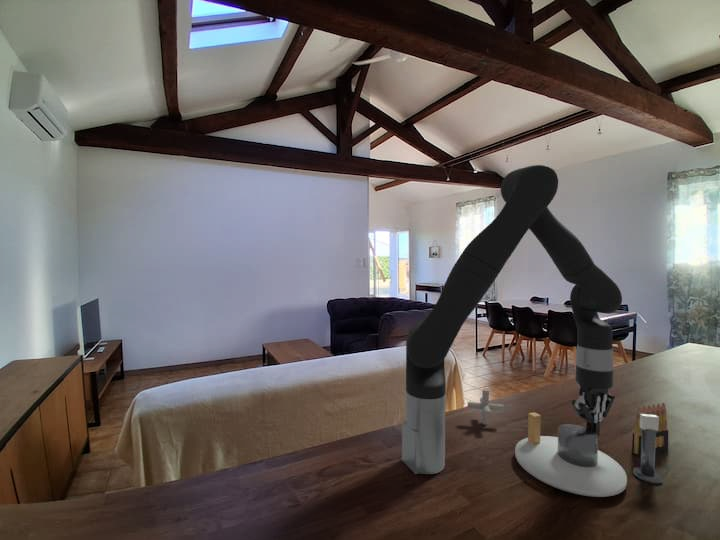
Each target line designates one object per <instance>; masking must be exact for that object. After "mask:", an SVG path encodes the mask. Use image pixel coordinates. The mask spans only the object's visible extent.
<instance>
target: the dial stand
mask: <svg viewBox="0 0 720 540" xmlns="http://www.w3.org/2000/svg"><path fill="white" fill-rule="evenodd" d="M658 425H659V417H657V416H656V415H649V414H640V428H642V441H641V456H640V466H635V467H633V469H632V473H633V476H634V477H635V478H637V479H638V480H640V481H643V482H645V483H648V484H650V485H651V484H652V485H662V483H663V477H662V475H661V474H660V473H659V472H656V471H655V469H656V467H655V466H656V463H655V462H656V453H655V443H656V431H658Z"/></svg>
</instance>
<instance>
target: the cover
mask: <svg viewBox="0 0 720 540" xmlns="http://www.w3.org/2000/svg"><path fill="white" fill-rule="evenodd" d="M557 437H558V455H559V456H560V457H561V458H562V459H563V460H565V461H566V462H568V463H571V464H573V465H576V466H581V467H594V466H596V465H597V464H598V450H599V436H598V435H597V434H596V433H595V432H594V431H592V430H590V429H588V428H586V427H585V426H582V425H579V424H574V423H573V424H572V423H563V424H560V425H558V427H557Z"/></svg>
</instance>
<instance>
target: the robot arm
mask: <svg viewBox="0 0 720 540" xmlns="http://www.w3.org/2000/svg"><path fill="white" fill-rule="evenodd" d="M558 188H559V177H558V174H557V172H556V170H555V169H554V168H552V167H550V166H549V165H545V164H533V165H528V166H524V167H522V168H517V169H515V170H512V171H510V172H509V173H508V174H506V175H505V176H504V177H503V179H502V182H501V185H500V194H501V197H502V200H503V201H504V202H505V204H504V206H503V207H502V209H501V210H500V212H499V213H498V215H497V216H496V217H495V218H494V219H493V220H492V222H490V223H489V224H488V225H487V226H486V227H485V228H484V229H483V230H481V231H480V232H479V233H478V234H477V235H476V236H475V237H474V238H473V239H472V240H471V241H470V242H469V243H468V244H467V246H466V247H465V248H464V249H463V251H462V252H461V254H460V255H459V257H458V258H457V260H456V262H455V263H454V265H453V266H452V268H451V270H450V273H449V274H448V276H447V278H446V281H445V283H444V285H443V287H442V289H441V293H440V294H439V297H438V299H437V302H436V303H435V305H434V306H433V308H432V310H431V311H430V312H429V314H428V315H427V316H426V318H425V319H424V320H423V321H422V322H418V323H416V324H414V325H413V326H412V327H410V329H409V331H408V333H407V335H406V340H405V341H406V343H405V344H406V345H405V346H406V347H405V351H406V352H405V355H406V356H405V358H406V359H405V362H406V363H405V420H404V421H402V423H401V425H402V427H401V428H402V429H401V461H402V462H403V463H404V464H405V465H406V466H407V467H408V468H409V469H410V471H412V473H413V474H414V475H418V474H422V475H434V474H438V473H440V472H442V471H443V470H444V468H445V464H446V463H445V462H446V390H447V389H446V387H447V385H446V384H447V383H446V382H447V381H446V374H445V373H446V371H445V359H446V358H447V355H448V353H449V352H450V350H451V347H452V345H453V344H454V342H455V339H456V337H457V336H458V335H459V332H460V330H461V328H462V327H463V325H464V323H465V322H466V320H467V319H468V318H469V316H470V315H471V314H472V312H473V311H474V310H475V309H476V307H477V306H478V304H479V303H480V302H481V300H482V299H483V298H484V296H485V295H486V294H487V292H488V290H489V289H490V288H491V287H492V285H493V284H494V282H495V280H496V279H497V277H499V274H500V272H501V271H502V270H503V268H504V266H505V264H506V263H507V261H509V259H510V257H511V256H512V254H513V253H514V251H515V250H516V248H517V247H518V245H519V244H520V242H521V241H522V239H523V238H524V236H525V235H526V233H528V231H529V230H530V232H531V233H532V234H533V236H534V237H536V239H537V240H538V241H539V243H540V244H541V245H542V247H543V248H544V249H545V251H546V253H547V254H548V256H549V258H550V259H551V260H552V262H553V264H554V265H555V266H556V268H557V270H558V271H559V273H560V275H561V276H562V277H563V278H564V280H565V281H566V282H568V283H570V284H573V285H574V286H573V287H572V289H571V291H570V295H569V296H570V297H569V301H570V302H569V303H570V306H571V310H572V314H573V318H574V320H575V321H574V322H575V325H576V328H577V332H576V333H577V335H576V336H577V338H576V340H577V344H576V351H575V381H576V383H577V384H578V385H579V386H580V387H579V391H578V396H579V397H578V398H577V400H576V399H573V400H571V404H572V406H573V408H574V410H575V411H576V413H577V415H578V416H579V417H580V418H581V419H583V420H585V421H586V428H588V429H590V430H592V431H594V432H595V433H596V434H597V435H598V437H600V434H601V432H600V431H601V428H600V427H601V422H602V421H603V418H604V419H606V418H607V416H608V414H609V411H611V407H612V406H613V403H614V401H615V397H616V396H615V395H613V394H611V393H609V390H610V389H612V388H613V387H614V362H615V361H614V353H613V339H614V338H613V327H612V325H610V324H609V323H608V322H605V321H604V320H602V319H601V318H600V316H599V313H600V314H612V313H615V312H616V311H618V310H619V309H620V308H621V306H622V302H623V296H622V291H621V290H620V288H619V286H618V284H617V283H616V282H615V281H613V279H612V278H611V277H610V276H609V275H608V274H606V272H604V271H603V269H601V268H600V267H598V266H597V265H596V264H595V262H594V260H593V259H592V257H591V255H590V254H589V252H588V251H587V249H586V248H585V246H584V244H583V242H581V241H580V239H579V238H578V237H577V236H576V235H575V234H574V233H573V232H572V231H570V229H569V228H567V227H566V226H565V225H564V224H563V223H562V222H560V221H559V220H558V219H557V218H556V216H555V215H554V214H553V213H552V211H551V210H550V209H549V207H548V206H549V205H550V204H551V203H552V201H553V199H554V198H555V196H556V194H557V192H558Z"/></svg>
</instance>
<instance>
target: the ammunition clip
mask: <svg viewBox="0 0 720 540" xmlns="http://www.w3.org/2000/svg"><path fill="white" fill-rule="evenodd" d="M640 414H649V415H656V416H657V417H659V425H658V431H656V443H655V454H656V453H660V452H664V451H669V430H668V418H667V407H666V404H665V403H664V402H662V403H661V405H660V403H657V404H656V405H655V404H652V406H651V405H650V404H648V406H647V407H646V406H645V405H644V406H642V408H641V407H640V406H638V407H637V410H636V414H635V421H634V430H633V431H634V432H632V441H631V442H632V444H631V453H632V454H634V455H636V456H639V457H641V441H642V428H640Z"/></svg>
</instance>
